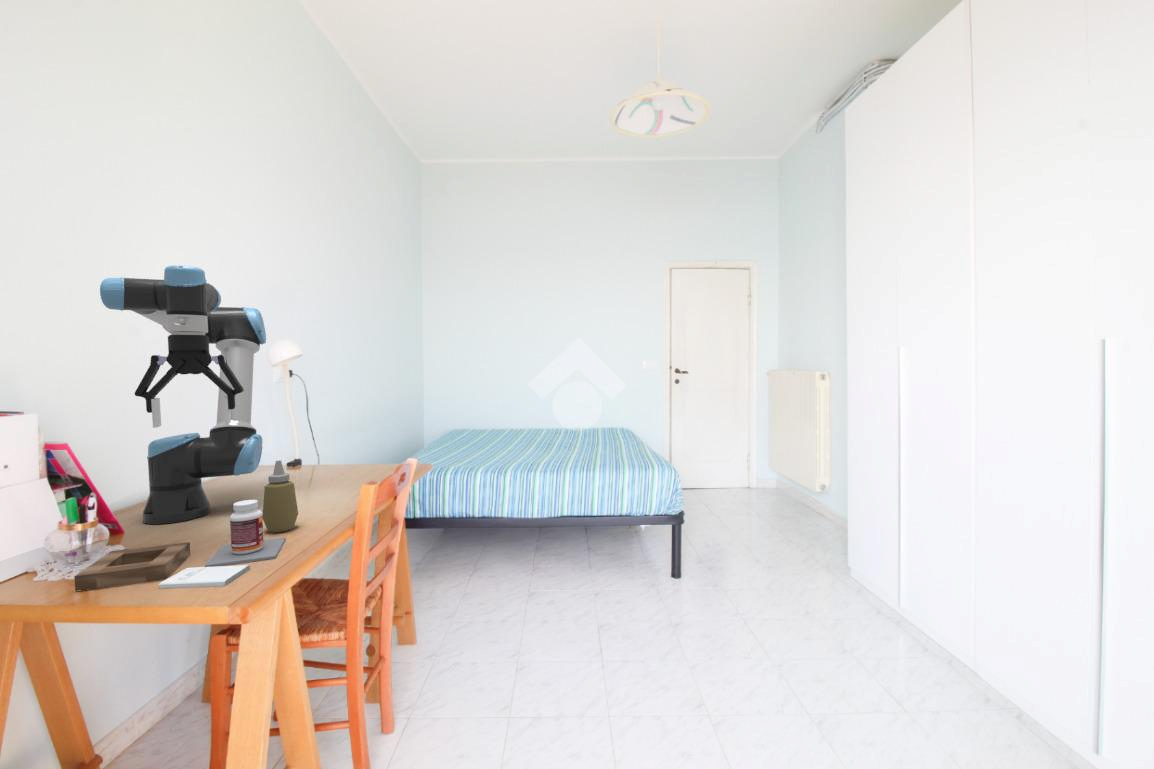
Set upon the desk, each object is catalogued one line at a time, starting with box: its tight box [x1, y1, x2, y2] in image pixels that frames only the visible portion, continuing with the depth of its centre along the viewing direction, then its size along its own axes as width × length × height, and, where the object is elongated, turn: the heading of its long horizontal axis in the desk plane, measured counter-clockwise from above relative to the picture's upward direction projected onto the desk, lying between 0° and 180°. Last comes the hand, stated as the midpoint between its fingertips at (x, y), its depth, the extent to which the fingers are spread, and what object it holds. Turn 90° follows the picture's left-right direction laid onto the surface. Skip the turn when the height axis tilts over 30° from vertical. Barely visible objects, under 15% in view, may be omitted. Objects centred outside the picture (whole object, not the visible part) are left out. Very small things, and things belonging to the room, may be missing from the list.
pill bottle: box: [229, 499, 264, 554], centre depth 114 cm, size 6×6×11 cm
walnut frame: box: [73, 541, 191, 592], centre depth 104 cm, size 14×14×3 cm
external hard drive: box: [157, 564, 251, 589], centre depth 100 cm, size 2×8×12 cm
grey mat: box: [203, 536, 287, 567], centre depth 114 cm, size 13×13×1 cm
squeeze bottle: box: [262, 460, 299, 533], centre depth 130 cm, size 8×8×18 cm
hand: (193, 425), depth 118 cm, fingers open, 13 cm apart
